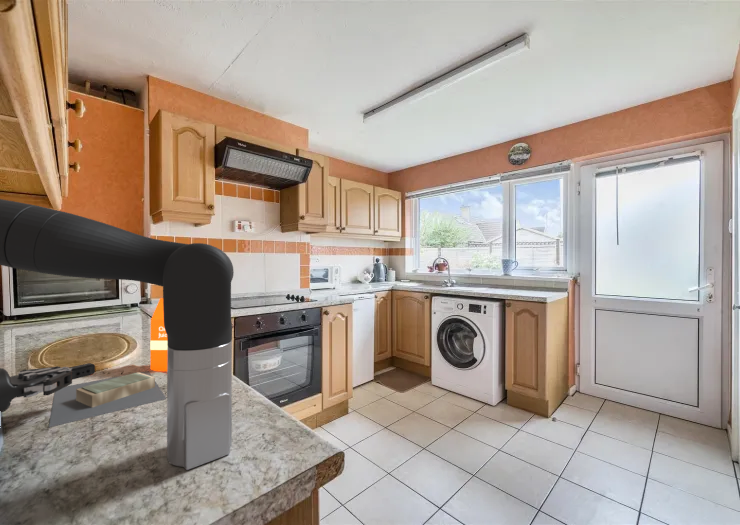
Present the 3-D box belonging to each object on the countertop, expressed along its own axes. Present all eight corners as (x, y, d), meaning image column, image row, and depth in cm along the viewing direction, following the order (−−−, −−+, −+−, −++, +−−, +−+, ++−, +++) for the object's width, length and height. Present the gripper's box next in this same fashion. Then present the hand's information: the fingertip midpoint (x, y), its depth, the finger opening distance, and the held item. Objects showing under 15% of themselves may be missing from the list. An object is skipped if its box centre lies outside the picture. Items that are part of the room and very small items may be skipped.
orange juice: (181, 371, 89) (181, 299, 89) (149, 371, 89) (150, 299, 89) (196, 362, 97) (197, 296, 97) (167, 362, 97) (168, 296, 97)
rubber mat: (166, 402, 69) (166, 398, 69) (48, 431, 57) (48, 427, 57) (148, 373, 87) (148, 370, 87) (55, 391, 75) (55, 388, 75)
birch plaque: (92, 394, 65) (154, 376, 75) (76, 388, 68) (138, 371, 79) (92, 407, 65) (154, 387, 75) (76, 400, 68) (138, 382, 79)
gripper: (-24, 383, 49) (109, 354, 65) (-49, 369, 55) (78, 346, 71) (-25, 431, 49) (109, 391, 65) (-49, 413, 55) (78, 380, 71)
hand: (93, 368), depth 68 cm, fingers closed
